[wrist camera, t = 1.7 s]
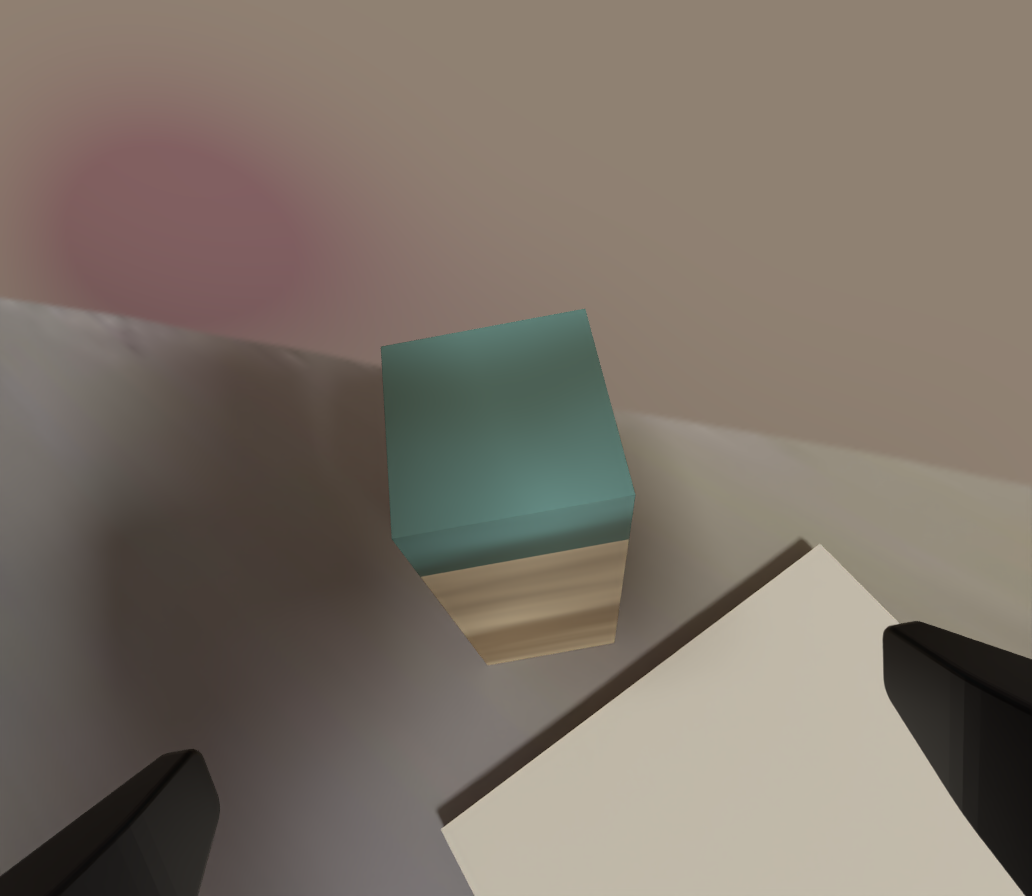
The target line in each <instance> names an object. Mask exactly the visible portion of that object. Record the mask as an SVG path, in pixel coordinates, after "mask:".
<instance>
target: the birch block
mask: <svg viewBox="0 0 1032 896" xmlns="http://www.w3.org/2000/svg"><path fill="white" fill-rule="evenodd" d="M381 356H382V357H381V358H382V375H383V393H384V410H385V428H386V446H387V463H388V481H389V499H390V516H391V534H392V540H393V541H394V543H395V544H396V545H397V547H398V548H399V549H400V550H401V552H402V553H403V554H404V556H405V557H406V558H407V560H408V561H409V562H410V564H411V565H412V566H413V568H414V569H415V570H416V572H417V573H418V574H419V575H420V577H421V578H422V579H423V581H424V582H425V583H426V585H427V586H428V587H429V589H430V590H431V591H432V593H433V594H434V595H435V597H436V598H437V599H438V601H439V602H440V603H441V604H442V606H443V607H444V608H445V610H446V611H447V612H448V614H449V615H450V616H451V618H452V619H453V620H454V622H455V623H456V624H457V626H458V627H459V628H460V630H461V631H462V632H463V633H464V635H465V636H466V637H467V639H468V640H469V641H470V643H471V644H472V645H473V647H474V648H475V649H476V651H477V652H478V653H479V655H480V656H481V657H482V658H483V660H484V661H485V662H486V664H487V665H493V664H499V663H504V662H510V661H515V660H521V659H527V658H532V657H538V656H544V655H549V654H555V653H561V652H566V651H572V650H577V649H583V648H589V647H594V646H600V645H606V644H611V643H614V641H615V634H616V627H617V620H618V613H619V606H620V599H621V592H622V585H623V578H624V571H625V564H626V557H627V550H628V543H629V536H630V529H631V522H632V515H633V508H634V501H635V492H634V488H633V484H632V481H631V477H630V473H629V470H628V466H627V462H626V458H625V455H624V451H623V447H622V444H621V440H620V436H619V432H618V429H617V425H616V421H615V418H614V414H613V410H612V406H611V403H610V399H609V395H608V392H607V388H606V384H605V381H604V377H603V373H602V369H601V366H600V362H599V358H598V355H597V351H596V347H595V343H594V340H593V336H592V332H591V329H590V325H589V321H588V317H587V314H586V310H585V309H581V310H576V311H570V312H565V313H560V314H554V315H549V316H543V317H538V318H532V319H527V320H522V321H516V322H511V323H506V324H500V325H495V326H490V327H485V328H479V329H474V330H468V331H463V332H458V333H452V334H447V335H442V336H436V337H431V338H426V339H420V340H414V341H409V342H404V343H398V344H393V345H387V346H382V347H381Z"/></svg>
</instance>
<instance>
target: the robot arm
mask: <svg viewBox="0 0 1032 896" xmlns="http://www.w3.org/2000/svg"><path fill="white" fill-rule="evenodd" d="M882 643H883V680H884V686H885V690H886V693H887V695H888V697H889V699H890V701H891V703H892V704H893V706H894V708H895V709H896V711H897V712H898V714H899V716H900V717H901V719H902V720H903V722H904V723H905V725H906V727H907V728H908V730H909V731H910V733H911V735H912V736H913V738H914V739H915V741H916V742H917V744H918V746H919V747H920V749H921V750H922V752H923V754H924V755H925V757H926V758H927V760H928V761H929V763H930V765H931V766H932V768H933V769H934V771H935V772H936V774H937V776H938V777H939V779H940V780H941V782H942V784H943V785H944V787H945V788H946V790H947V791H948V793H949V795H950V796H951V798H952V799H953V801H954V802H955V804H956V805H957V807H958V808H959V810H960V811H961V813H962V814H963V815H964V817H965V818H966V819H967V821H968V822H969V823H970V825H971V826H972V827H973V829H974V830H975V832H976V833H977V834H978V836H979V837H980V838H981V839H982V841H983V842H984V843H985V845H986V846H987V847H988V848H989V850H990V851H991V852H992V854H993V855H994V856H995V858H996V859H997V860H998V861H999V863H1000V864H1001V865H1002V867H1003V868H1004V869H1005V871H1006V872H1007V873H1008V874H1009V876H1010V877H1011V878H1012V880H1013V881H1014V882H1015V883H1016V885H1017V886H1018V887H1019V889H1020V890H1021V891H1022V893H1023V894H1024V895H1025V896H1032V659H1029V658H1026V657H1023V656H1020V655H1017V654H1014V653H1011V652H1009V651H1006V650H1003V649H1000V648H997V647H994V646H991V645H988V644H985V643H982V642H979V641H976V640H973V639H970V638H967V637H965V636H962V635H959V634H956V633H953V632H950V631H947V630H944V629H941V628H938V627H935V626H932V625H929V624H926V623H923V622H920V621H913V622H907V623H901V624H896V625H890V626H888V627H887V628H886V629H885V630H884V632H883V638H882ZM219 812H220V803H219V798H218V794H217V792H216V789H215V786H214V784H213V781H212V779H211V776H210V773H209V771H208V768H207V766H206V763H205V760H204V758H203V756H202V754H201V753H200V752H199V751H197V750H195V749H188V750H182V751H177V752H171V753H167V754H164V755H162V756H160V757H159V758H158V759H156V760H155V761H154V762H152V763H151V764H150V765H148V766H147V767H146V768H144V769H143V770H142V771H140V772H139V773H138V774H136V775H135V776H134V777H132V778H131V779H130V780H128V781H127V782H126V783H124V784H123V785H122V786H120V787H119V788H118V789H116V790H115V791H114V792H112V793H111V794H110V795H108V796H107V797H105V798H104V799H103V800H101V801H100V802H99V803H97V804H96V805H95V806H93V807H92V808H91V809H89V810H88V811H87V812H85V813H84V814H83V815H81V816H80V817H79V818H77V819H76V820H75V821H73V822H72V823H71V824H69V825H68V826H67V827H65V828H64V829H63V830H61V831H60V832H59V833H57V834H56V835H55V836H53V837H52V838H51V839H49V840H48V841H47V842H45V843H44V844H43V845H41V846H40V847H39V848H37V849H36V850H35V851H33V852H32V853H31V854H29V855H28V856H27V857H25V858H24V859H23V860H21V861H20V862H19V863H17V864H16V865H15V866H13V867H12V868H11V869H9V870H8V871H7V872H5V873H4V874H3V875H1V876H0V896H198V893H199V889H200V886H201V882H202V878H203V875H204V871H205V867H206V863H207V860H208V856H209V852H210V849H211V845H212V841H213V838H214V834H215V830H216V827H217V823H218V819H219Z"/></svg>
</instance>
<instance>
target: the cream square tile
mask: <svg viewBox="0 0 1032 896" xmlns="http://www.w3.org/2000/svg"><path fill="white" fill-rule="evenodd" d="M896 624H900V623H899V622H898V621H897V620H896V619H895V618H894V617H893V616H892V615H891V614H890V613H889V612H888V611H887V610H886V609H885V608H884V607H883V606H882V605H881V604H880V603H879V602H878V601H877V600H876V599H875V598H874V597H873V596H872V595H871V594H870V593H869V592H868V591H867V590H866V589H865V588H864V587H863V586H862V585H861V584H860V583H859V582H858V581H857V580H856V579H855V578H854V577H853V576H852V575H851V574H850V573H849V572H848V571H847V570H846V569H845V568H844V567H843V566H842V565H841V564H840V563H839V562H838V561H837V560H836V559H835V558H834V557H833V556H832V555H831V554H830V553H829V552H828V551H827V550H826V549H825V548H824V547H823V546H822V545H821V544H819V545H818V546H816V547H815V548H814V549H812V550H811V551H810V552H808V553H807V554H806V555H804V556H803V557H802V558H800V559H799V560H798V561H796V562H795V563H794V564H792V565H791V566H790V567H788V568H787V569H786V570H784V571H783V572H782V573H780V574H779V575H778V576H776V577H775V578H774V579H773V580H771V581H770V582H769V583H767V584H766V585H765V586H763V587H762V588H761V589H759V590H758V591H757V592H755V593H754V594H753V595H751V596H750V597H749V598H747V599H746V600H745V601H743V602H742V603H741V604H739V605H738V606H737V607H735V608H734V609H733V610H731V611H730V612H729V613H727V614H726V615H725V616H723V617H722V618H721V619H719V620H718V621H717V622H715V623H714V624H713V625H711V626H710V627H709V628H707V629H706V630H705V631H703V632H702V633H701V634H699V635H698V636H697V637H695V638H694V639H693V640H691V641H690V642H689V643H687V644H686V645H685V646H684V647H682V648H681V649H680V650H678V651H677V652H676V653H674V654H673V655H672V656H670V657H669V658H668V659H666V660H665V661H664V662H662V663H661V664H660V665H658V666H657V667H656V668H654V669H653V670H652V671H650V672H649V673H648V674H646V675H645V676H644V677H642V678H641V679H640V680H638V681H637V682H636V683H634V684H633V685H632V686H630V687H629V688H628V689H626V690H625V691H624V692H622V693H621V694H620V695H618V696H617V697H616V698H614V699H613V700H612V701H610V702H609V703H608V704H606V705H605V706H604V707H602V708H601V709H600V710H599V711H597V712H596V713H595V714H593V715H592V716H591V717H589V718H588V719H587V720H585V721H584V722H583V723H581V724H580V725H579V726H577V727H576V728H575V729H573V730H572V731H571V732H569V733H568V734H567V735H565V736H564V737H563V738H561V739H560V740H559V741H557V742H556V743H555V744H553V745H552V746H551V747H549V748H548V749H547V750H545V751H544V752H543V753H541V754H540V755H539V756H537V757H536V758H535V759H533V760H532V761H531V762H529V763H528V764H527V765H525V766H524V767H523V768H521V769H520V770H519V771H517V772H516V773H515V774H513V775H512V776H511V777H510V778H508V779H507V780H506V781H504V782H503V783H502V784H500V785H499V786H498V787H496V788H495V789H494V790H492V791H491V792H490V793H488V794H487V795H486V796H484V797H483V798H482V799H480V800H479V801H478V802H476V803H475V804H474V805H472V806H471V807H470V808H468V809H467V810H466V811H464V812H463V813H462V814H460V815H459V816H458V817H456V818H455V819H454V820H452V821H451V822H450V823H448V824H447V825H446V826H444V827H443V828H442V829H441V831H442V833H443V835H444V837H445V839H446V841H447V843H448V845H449V847H450V848H451V850H452V852H453V854H454V856H455V858H456V860H457V862H458V864H459V866H460V868H461V870H462V872H463V874H464V876H465V878H466V880H467V882H468V884H469V886H470V888H471V890H472V892H473V893H474V895H475V896H1025V895H1024V894H1023V893H1022V891H1021V890H1020V889H1019V887H1018V886H1017V885H1016V883H1015V882H1014V881H1013V880H1012V878H1011V877H1010V876H1009V874H1008V873H1007V872H1006V871H1005V869H1004V868H1003V867H1002V865H1001V864H1000V863H999V861H998V860H997V859H996V858H995V856H994V855H993V854H992V852H991V851H990V850H989V848H988V847H987V846H986V845H985V843H984V842H983V841H982V839H981V838H980V837H979V836H978V834H977V833H976V832H975V830H974V829H973V827H972V826H971V825H970V823H969V822H968V821H967V819H966V818H965V817H964V815H963V814H962V813H961V811H960V810H959V808H958V807H957V805H956V804H955V802H954V801H953V799H952V798H951V796H950V795H949V793H948V791H947V790H946V788H945V787H944V785H943V784H942V782H941V780H940V779H939V777H938V776H937V774H936V772H935V771H934V769H933V768H932V766H931V765H930V763H929V761H928V760H927V758H926V757H925V755H924V754H923V752H922V750H921V749H920V747H919V746H918V744H917V742H916V741H915V739H914V738H913V736H912V735H911V733H910V731H909V730H908V728H907V727H906V725H905V723H904V722H903V720H902V719H901V717H900V716H899V714H898V712H897V711H896V709H895V708H894V706H893V704H892V703H891V701H890V699H889V697H888V695H887V693H886V690H885V686H884V680H883V643H882V638H883V632H884V630H885V629H886V628H887V627H888V626H890V625H896Z"/></svg>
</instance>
